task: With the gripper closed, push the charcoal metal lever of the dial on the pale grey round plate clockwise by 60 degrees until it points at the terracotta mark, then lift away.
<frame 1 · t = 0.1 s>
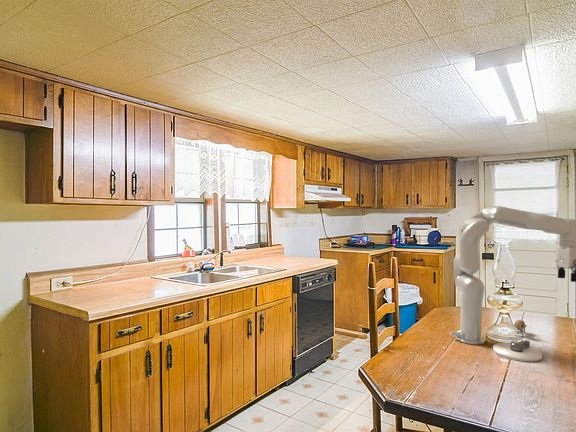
hand: (567, 279, 192), 31 cm above the table, tool pointing down, fingers open, 9 cm apart
dial: (520, 345, 179), point 3 cm above the table, hinge at 0.0°
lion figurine: (520, 335, 205), on the table
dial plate: (516, 353, 178), on the table
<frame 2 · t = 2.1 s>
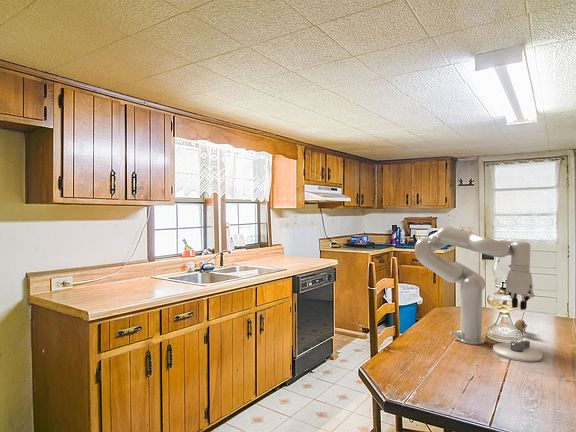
hand: (518, 308, 183), 19 cm above the table, tool pointing down, fingers open, 3 cm apart
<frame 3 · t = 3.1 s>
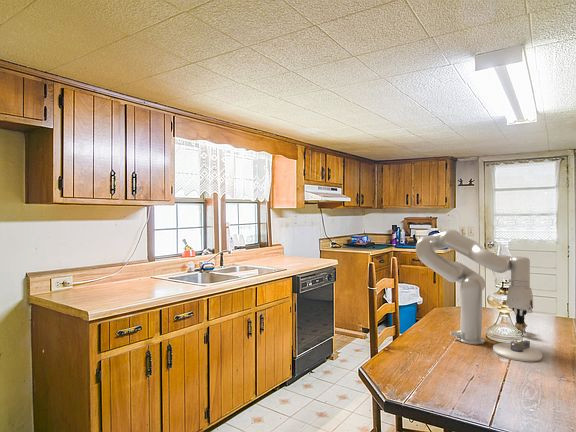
hand: (520, 323, 183), 12 cm above the table, tool pointing down, fingers closed
nothing on the table moved.
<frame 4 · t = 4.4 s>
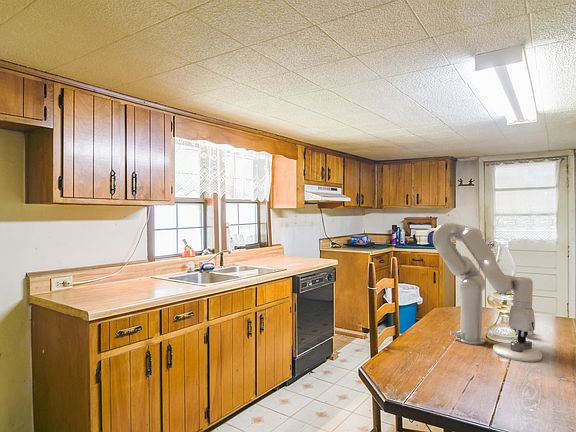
hand: (521, 344, 182), 3 cm above the table, tool pointing down, fingers closed
dial: (521, 345, 179), point 3 cm above the table, hinge at -7.9°, touching gripper
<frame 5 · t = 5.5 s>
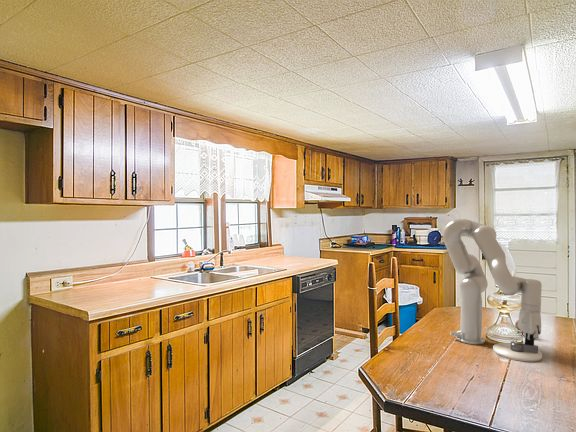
hand: (529, 347, 179), 3 cm above the table, tool pointing down, fingers closed
dial: (524, 347, 177), point 3 cm above the table, hinge at -51.1°, touching gripper
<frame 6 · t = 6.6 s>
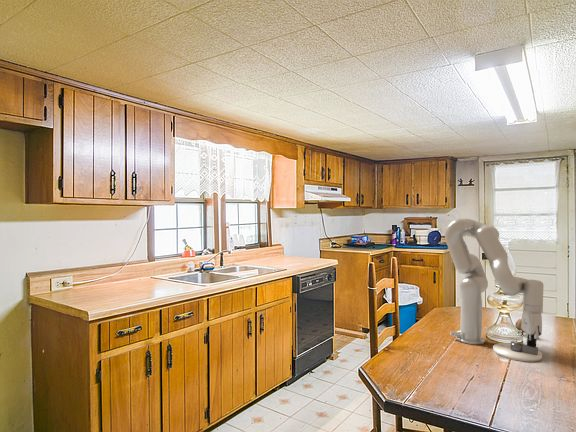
hand: (531, 348, 178), 3 cm above the table, tool pointing down, fingers closed
dial: (523, 347, 176), point 3 cm above the table, hinge at -71.4°
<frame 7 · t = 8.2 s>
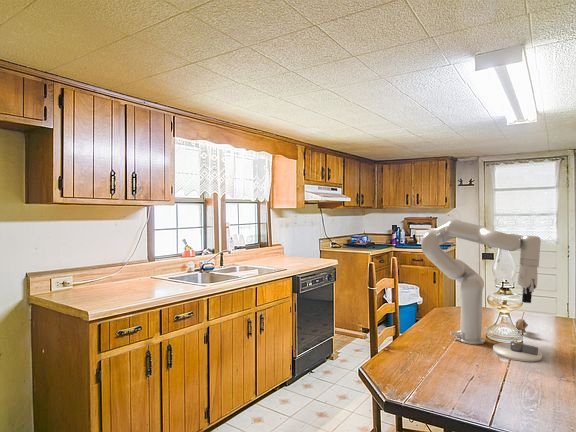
hand: (526, 302, 183), 22 cm above the table, tool pointing down, fingers closed
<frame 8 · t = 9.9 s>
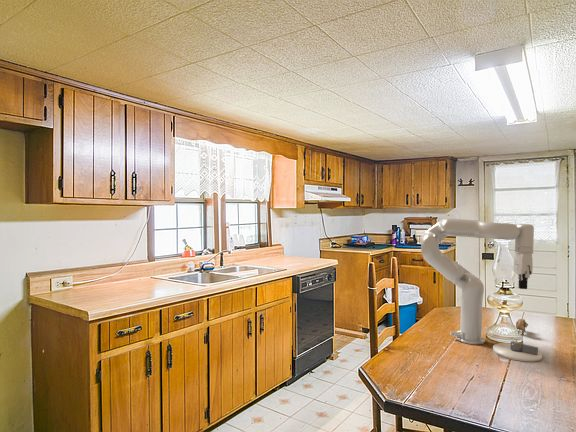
hand: (522, 288, 189), 27 cm above the table, tool pointing down, fingers closed
at the end: dial at -72° (first picture: +0°); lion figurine moved 2.8 cm from its start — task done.
